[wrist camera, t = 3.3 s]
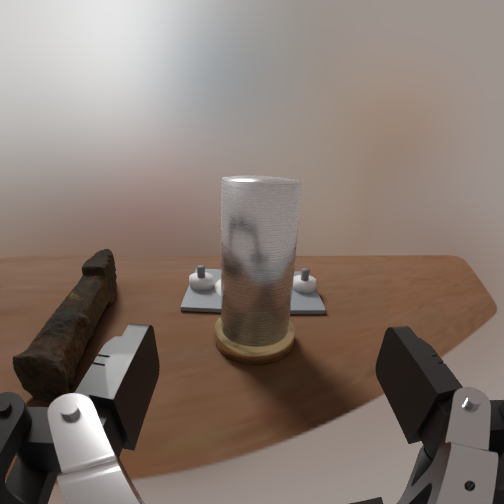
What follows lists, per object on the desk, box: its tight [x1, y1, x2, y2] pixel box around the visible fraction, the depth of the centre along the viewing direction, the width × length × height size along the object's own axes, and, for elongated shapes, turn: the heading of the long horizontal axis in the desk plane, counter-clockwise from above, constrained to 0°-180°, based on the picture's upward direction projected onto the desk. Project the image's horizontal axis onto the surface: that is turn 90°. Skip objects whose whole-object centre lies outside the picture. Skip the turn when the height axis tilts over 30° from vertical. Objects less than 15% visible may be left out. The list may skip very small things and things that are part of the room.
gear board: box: [180, 265, 326, 314], centre depth 30 cm, size 13×9×2 cm
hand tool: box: [13, 249, 117, 402], centre depth 22 cm, size 19×4×5 cm, turn 6°
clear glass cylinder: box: [215, 176, 301, 365], centre depth 21 cm, size 6×6×12 cm
